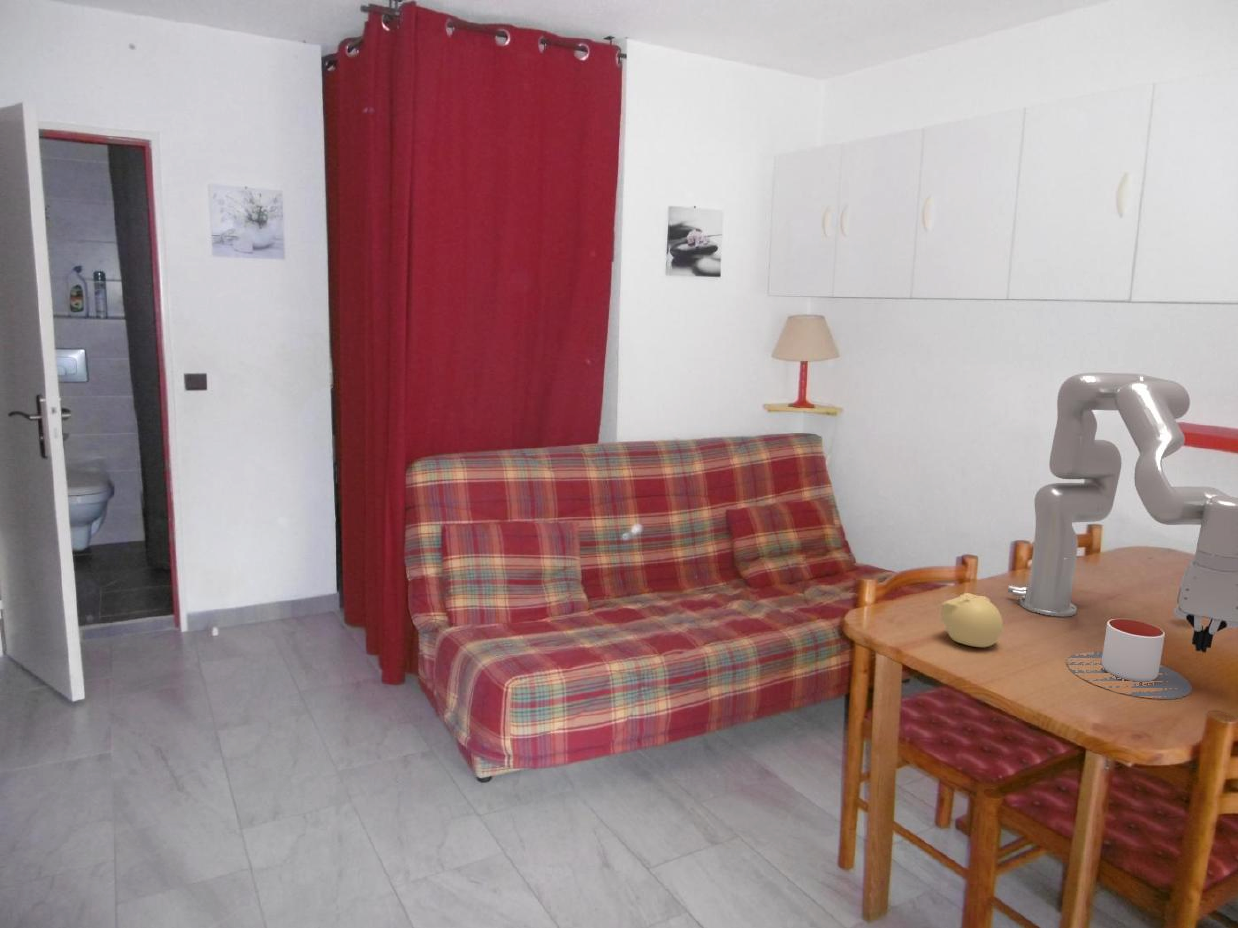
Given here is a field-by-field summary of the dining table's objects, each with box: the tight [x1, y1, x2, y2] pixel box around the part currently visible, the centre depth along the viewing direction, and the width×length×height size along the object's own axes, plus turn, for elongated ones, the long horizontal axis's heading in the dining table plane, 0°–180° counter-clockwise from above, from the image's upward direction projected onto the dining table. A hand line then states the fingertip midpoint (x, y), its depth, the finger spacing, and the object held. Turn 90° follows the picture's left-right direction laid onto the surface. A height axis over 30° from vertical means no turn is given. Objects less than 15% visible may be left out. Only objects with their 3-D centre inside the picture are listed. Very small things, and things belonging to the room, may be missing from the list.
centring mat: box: [1066, 651, 1192, 700], centre depth 172 cm, size 22×22×1 cm
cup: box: [1102, 618, 1166, 682], centre depth 171 cm, size 10×10×10 cm
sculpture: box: [940, 592, 1004, 648], centre depth 186 cm, size 12×12×11 cm
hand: (1200, 649), depth 166 cm, fingers closed
